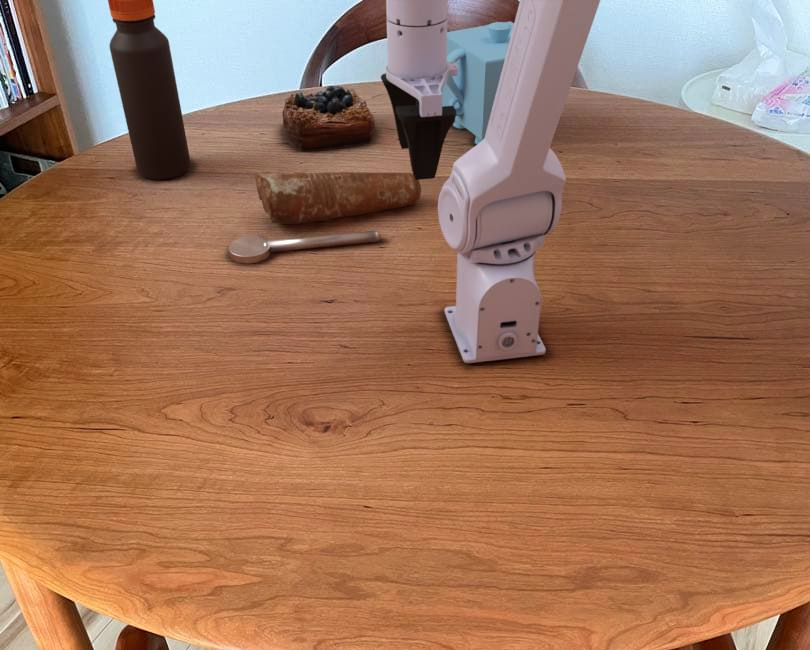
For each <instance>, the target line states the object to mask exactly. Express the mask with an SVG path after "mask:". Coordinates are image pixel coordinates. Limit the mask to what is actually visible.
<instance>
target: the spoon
mask: <svg viewBox="0 0 810 650" xmlns="http://www.w3.org/2000/svg"><path fill="white" fill-rule="evenodd" d="M380 239H381V234H380V232H379V231H378V230H365V231H355V232H346V233H335V234H325V235H315V236H314V235H313V236H303V237H293V238H285V239H272V240H268V239H266V238H265V237H262V236H256V235H247V236H242V237H238V238H236V239H234V240H233V241H231V242H230V244H229V245H228V253H229V258H230V259H231V260H232V261H234V262H235V263H239V264H244V265H245V264H247V265H248V264H249V265H250V264H257V263H260V262H263V261H265V260H267V259H268V258H270V256H271V254H272V253H274V252H275V253H277V252H286V251H295V250H305V249H307V250H308V249H315V248H317V249H318V248H326V247H327V248H328V247H338V246H346V245H357V244H368V243H375V242H378V241H379V240H380Z"/></svg>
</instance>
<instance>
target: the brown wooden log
mask: <svg viewBox="0 0 810 650" xmlns="http://www.w3.org/2000/svg"><path fill="white" fill-rule="evenodd" d="M255 185H256V191H257V195H258V199H259V201H261V203H262V208H263V210H264V212H265V213H266V214H268V215H269V218H270V221H271V223H272V224H280V225H296V224H297V225H299V224H306V223H311V222H318V221H320V222H321V221H326V220H330V219H337V218H344V217H351V216H356V215H357V216H359V215H366V214H370V213H377V212H381V211H387V210H391V209H398V208H401V207H402V208H403V207H406V206H411V205H415V204H416V203H417V202H418V201H419V200H420V199H421V195H422V185H421V183H420V180H415V178H414V175H413V172H382V171H381V172H380V171H379V172H359V171H358V172H351V171H350V172H349V171H348V172H347V171H346V172H344V171H343V172H342V171H340V172H339V171H337V172H336V171H335V172H333V171H332V172H329V171H327V172H324V171H323V172H321V171H320V172H305V171H304V172H303V171H300V172H299V171H298V172H274V173H257V174H255Z"/></svg>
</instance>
